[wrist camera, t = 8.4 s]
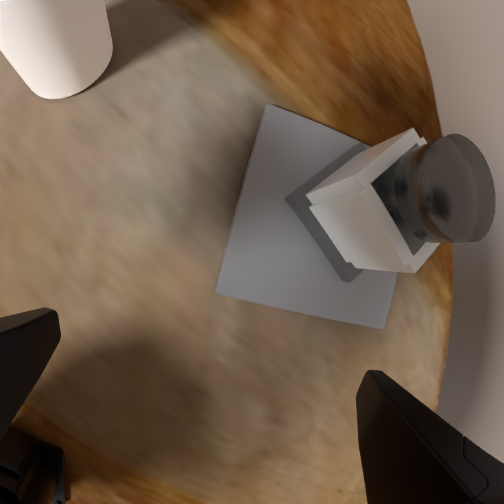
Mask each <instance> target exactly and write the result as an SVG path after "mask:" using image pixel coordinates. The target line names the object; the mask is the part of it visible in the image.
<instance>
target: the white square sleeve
mask: <svg viewBox="0 0 504 504" xmlns="http://www.w3.org/2000/svg"><path fill="white" fill-rule="evenodd" d="M426 143H427V142H426V140H425V139H424V137H422V138H419V136H418V134H417V133H416V131H415V130H414V128H411V129H409V130H407V131H405V132H403V133H400V134H398V135H396V136H394V137H392V138H390V139H388V140H386V141H383V142H381V143H379V144H377V145H375V146H373V147H371V148H369V149H366V148H365V146H364V145H363V143H362V142H360V143H358V144H356V145H354V146H353V147H351V148H350V149H348V150H347V151H346V152H344V153H343V154H342V155H340V156H339V157H338V158H336V159H335V160H334V161H332V162H331V163H330V164H328V165H327V166H326V167H324V168H323V169H322V170H321V171H319V172H318V173H317V174H315V175H314V176H313V177H311V178H310V179H309V180H307V181H306V182H305V183H303V184H302V185H301V186H299V187H298V188H297V189H296V190H294V191H293V192H292V193H290V194H289V195H288V196H286V197H285V200H286V201H287V202H288V204H289V205H290V207H291V208H292V209H293V211H294V212H295V213H296V215H297V216H298V218H299V219H300V220H301V222H302V223H303V225H304V226H305V227H306V229H307V230H308V232H309V233H310V235H311V236H312V237H313V239H314V240H315V242H316V243H317V245H318V246H319V247H320V249H321V250H322V252H323V253H324V255H325V256H326V258H327V259H328V260H329V262H330V263H331V265H332V266H333V268H334V269H335V271H336V272H337V274H338V275H339V277H340V278H341V280H342V281H343V282H349V283H351V282H352V281H353V280H354V279H355V278H356V277H357V276H358V275H359V274H360V273H361V272H362V271H363V270H364V269H371V270H382V271H393V272H404V273H416V272H417V270H418V269H419V268H420V267H421V266H422V265H423V263H424V262H425V261H426V260H427V259H428V258H429V256H430V255H431V254H432V253H433V251H434V250H435V249H436V248H437V247H438V245H439V244H440V243H428V242H425V241H422V240H420V239H419V238H417V237H416V236H415V235H414V234H413V233H412V232H411V231H410V230H409V228H408V227H407V226H406V224H405V222H404V221H403V219H402V217H401V214H400V212H399V211H394V212H393V217H391V216H390V214H389V212H388V211H387V209H386V207H385V206H384V204H383V203H382V201H381V199H380V198H379V196H378V195H377V193H376V191H375V190H374V188H373V187H372V185H371V184H370V183H371V182H373V181H377V182H379V183H381V184H382V185H384V186H385V187H386V189H387V190H388V191H389V193H391V192H395V174H396V170H397V166H398V164H399V162H400V160H401V158H402V157H403V155H404V154H405V153H406V152H408V151H409V150H411V149H413V148H416V147H418V146H421V145H424V144H426Z"/></svg>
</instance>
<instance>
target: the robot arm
mask: <svg viewBox="0 0 504 504" xmlns="http://www.w3.org/2000/svg"><path fill="white" fill-rule="evenodd" d="M60 338H61V331H60V325H59V318H58V314H57V312H56V311H55V310H53V309H50V308H46V307H44V308H40V309H36V310H31V311H27V312H23V313H19V314H14V315H10V316H6V317H2V318H0V504H51V503H53V504H66V493H65V475H64V453H63V451H62V450H61V449H60V448H58V447H55V446H53V445H50V444H47V443H45V442H42V441H39V440H37V439H34V438H32V437H30V436H27V435H25V434H23V433H20V432H18V431H16V430H13V429H11V428H9V425H10V424H11V422H12V420H13V419H14V417H15V415H16V414H17V412H18V411H19V409H20V407H21V406H22V404H23V403H24V401H25V400H26V398H27V396H28V395H29V393H30V392H31V390H32V389H33V387H34V386H35V384H36V383H37V381H38V380H39V378H40V376H41V375H42V373H43V371H44V369H45V367H46V365H47V363H48V362H49V360H50V358H51V356H52V354H53V352H54V351H55V349H56V347H57V345H58V343H59V341H60ZM356 407H357V424H358V442H359V450H360V456H361V462H362V469H363V475H364V482H365V488H366V495H367V503H368V504H504V463H502V462H500V461H499V460H497V459H496V458H494V457H493V456H491V455H490V454H488V453H487V452H485V451H484V450H482V449H481V448H480V447H479V446H477V445H476V444H474V443H473V442H472V441H471V440H469V439H468V438H467V437H465V436H464V437H463V434H461V433H460V432H459V431H458V430H456V429H455V428H454V427H452V426H451V425H450V424H449V423H447V422H446V421H445V420H443V419H442V418H441V417H440V416H438V415H437V414H436V413H434V412H433V411H432V410H431V409H429V408H428V407H427V406H426V405H424V404H423V403H422V402H420V401H419V400H418V399H417V398H415V397H414V396H413V395H412V394H410V393H409V392H408V391H406V390H405V389H404V388H403V387H401V386H400V385H399V384H398V383H396V382H395V381H394V380H393V379H391V378H390V377H389V376H387V375H386V374H385V373H384V372H382V371H380V370H368V371H367V372H366V373H365V375H364V377H363V380H362V382H361V384H360V387H359V389H358V391H357V395H356ZM56 453H58V454H59V455H57V454H56Z"/></svg>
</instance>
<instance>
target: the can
mask: <svg viewBox="0 0 504 504" xmlns="http://www.w3.org/2000/svg"><path fill="white" fill-rule="evenodd" d="M0 50H1V51H2V53H3V54H4V55H5V57H6V58H7V59H8V61H9V62H10V63H11V65H12V66H13V67H14V69H15V70H16V71H17V72H18V74H19V75H20V76H21V78H22V79H23V80H24V81H25V83H26V84H27V85H28V86H29V87H30V89H31V90H32V91H33V92H34V93H35V94H37V95H38V96H40V97H43V98H47V99H60V98H65V97H69V96H72V95H74V94H76V93H78V92H80V91H82V90H84V89H85V88H87V87H88V86H90V85H91V84H92V83H94V82H95V81H96V80H97V79H98V78H99V77H100V76H101V74H102V73H103V72H104V71H105V69H106V68H107V66H108V64H109V62H110V60H111V57H112V52H113V44H112V38H111V33H110V28H109V23H108V18H107V13H106V7H105V2H104V0H0Z"/></svg>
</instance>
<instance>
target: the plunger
mask: <svg viewBox="0 0 504 504" xmlns="http://www.w3.org/2000/svg"><path fill="white" fill-rule="evenodd" d="M370 184H371V185H372V187H373V188H374V190H375V191H376V193H377V195H378V196H379V198H380V199H381V201H382V203H383V204H384V206H385V207H386V209H387V211H388V212H389V214H390V216H391V217H393V212H394V211H399V212H400V214H401V217H402V219H403V221H404V222H405V224H406V226H407V227H408V228H409V230H410V231H411V232H412V233H413V234H414V235H415V236H416V237H417V238H419V239H420V240H422V241H425V242H428V243H454V242H476V241H479V240H480V239H482V238H483V237H484V236H485V235H486V233H487V232H488V231H489V229H490V227H491V224H492V222H493V218H494V213H495V189H494V183H493V179H492V175H491V172H490V169H489V167H488V164H487V162H486V160H485V158H484V156H483V155H482V153H481V152H480V150H479V149H478V148H477V146H475V144H474V143H473V142H472V141H470V140H469V139H468V138H466V137H464V136H462V135H459V134H451V135H447V136H445V137H442V138H439V139H437V140H434V141H432V142H429V143H426V144H424V145H421V146H418V147H416V148H413V149H411V150H409V151H408V152H406V153H405V154H404V155H403V157H402V158H401V160H400V162H399V164H398V166H397V170H396V174H395V192H391V193H389V191H388V190H387V189H386V187H385V186H384V185H382V184H381V183H379V182H377V181H373V182H371V183H370Z"/></svg>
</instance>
